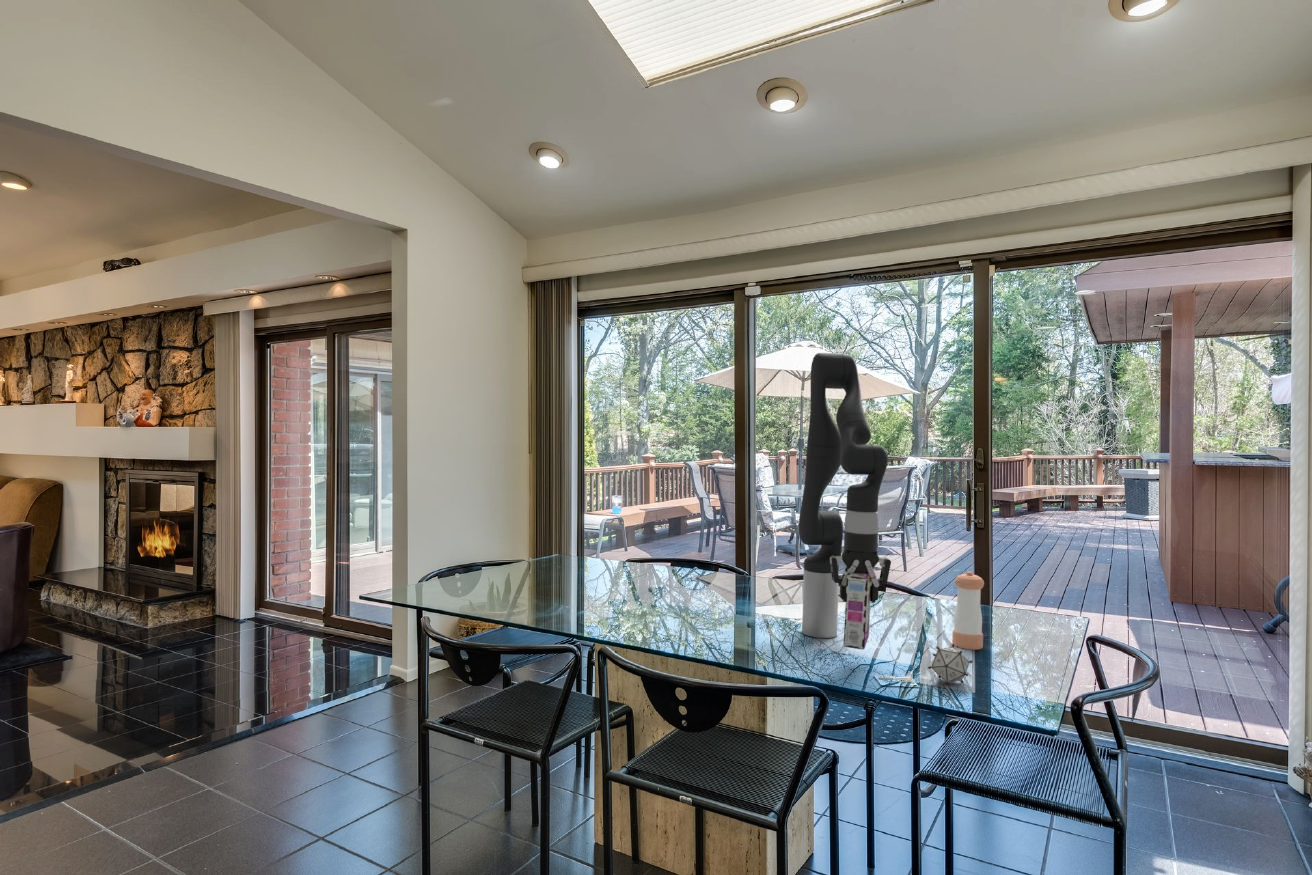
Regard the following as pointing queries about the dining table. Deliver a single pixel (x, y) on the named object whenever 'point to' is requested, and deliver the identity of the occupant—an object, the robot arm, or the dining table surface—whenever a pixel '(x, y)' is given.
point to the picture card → (896, 679)
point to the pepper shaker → (968, 612)
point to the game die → (950, 665)
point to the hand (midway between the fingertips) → (858, 601)
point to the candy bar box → (857, 610)
